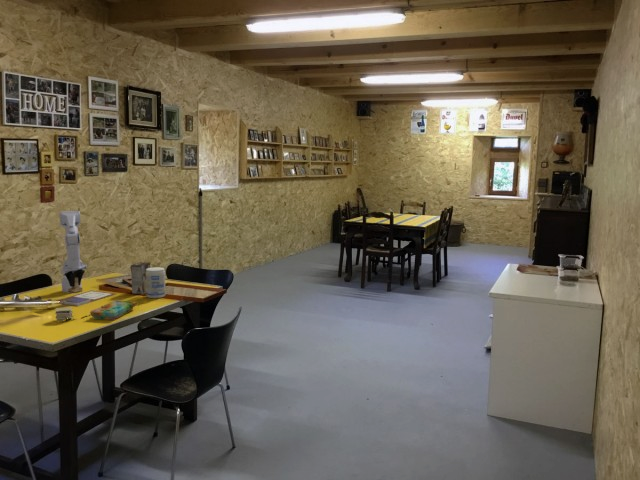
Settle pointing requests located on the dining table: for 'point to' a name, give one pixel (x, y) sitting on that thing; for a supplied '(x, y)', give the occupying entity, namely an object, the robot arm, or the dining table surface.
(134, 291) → the coffee box
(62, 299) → the desk board
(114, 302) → the puzzle game
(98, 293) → the paper
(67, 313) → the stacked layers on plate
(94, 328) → the dining table surface
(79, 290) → the stamp
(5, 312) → the dining table surface
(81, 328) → the dining table surface
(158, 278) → the supplement tub
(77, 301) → the ink pad
